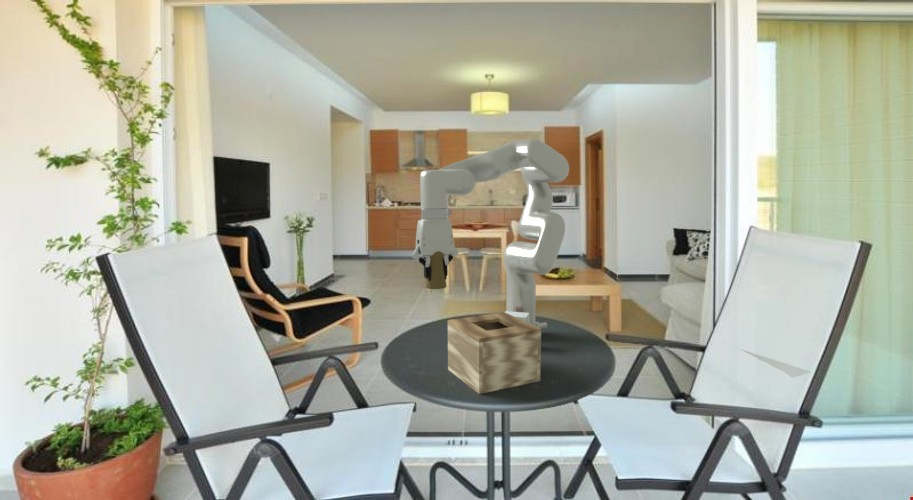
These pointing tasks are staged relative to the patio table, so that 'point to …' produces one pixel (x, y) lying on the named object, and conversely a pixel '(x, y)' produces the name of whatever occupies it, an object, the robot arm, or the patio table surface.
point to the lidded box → (494, 351)
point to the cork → (436, 272)
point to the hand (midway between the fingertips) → (435, 278)
